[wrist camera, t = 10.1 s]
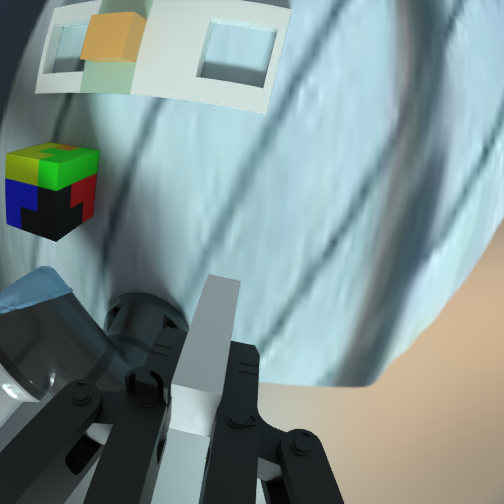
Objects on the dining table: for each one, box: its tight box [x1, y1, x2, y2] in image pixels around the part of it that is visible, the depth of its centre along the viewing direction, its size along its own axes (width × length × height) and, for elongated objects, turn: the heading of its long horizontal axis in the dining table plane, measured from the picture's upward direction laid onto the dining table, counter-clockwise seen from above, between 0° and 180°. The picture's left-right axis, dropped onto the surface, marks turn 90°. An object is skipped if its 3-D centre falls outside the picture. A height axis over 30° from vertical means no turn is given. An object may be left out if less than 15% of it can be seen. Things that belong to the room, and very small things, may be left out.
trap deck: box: [35, 0, 292, 114], centre depth 30 cm, size 14×34×2 cm, turn 78°
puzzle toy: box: [5, 142, 100, 242], centre depth 34 cm, size 10×10×10 cm
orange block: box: [80, 12, 147, 63], centre depth 26 cm, size 6×6×4 cm
